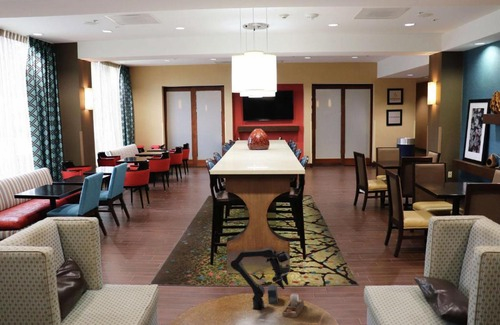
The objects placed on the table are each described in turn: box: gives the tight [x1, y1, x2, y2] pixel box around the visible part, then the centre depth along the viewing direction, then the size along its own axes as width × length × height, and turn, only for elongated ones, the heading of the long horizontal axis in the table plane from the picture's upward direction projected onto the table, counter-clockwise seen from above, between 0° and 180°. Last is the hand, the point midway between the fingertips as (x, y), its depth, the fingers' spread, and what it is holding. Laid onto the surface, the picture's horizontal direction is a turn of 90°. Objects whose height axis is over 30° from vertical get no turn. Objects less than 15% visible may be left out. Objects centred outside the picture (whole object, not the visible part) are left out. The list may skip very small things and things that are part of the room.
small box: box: [267, 284, 279, 305], centre depth 315 cm, size 11×6×10 cm, turn 174°
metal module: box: [289, 293, 300, 307], centre depth 298 cm, size 4×4×9 cm
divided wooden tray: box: [281, 299, 305, 318], centre depth 294 cm, size 10×19×5 cm, turn 159°
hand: (285, 286), depth 299 cm, fingers open, 9 cm apart
